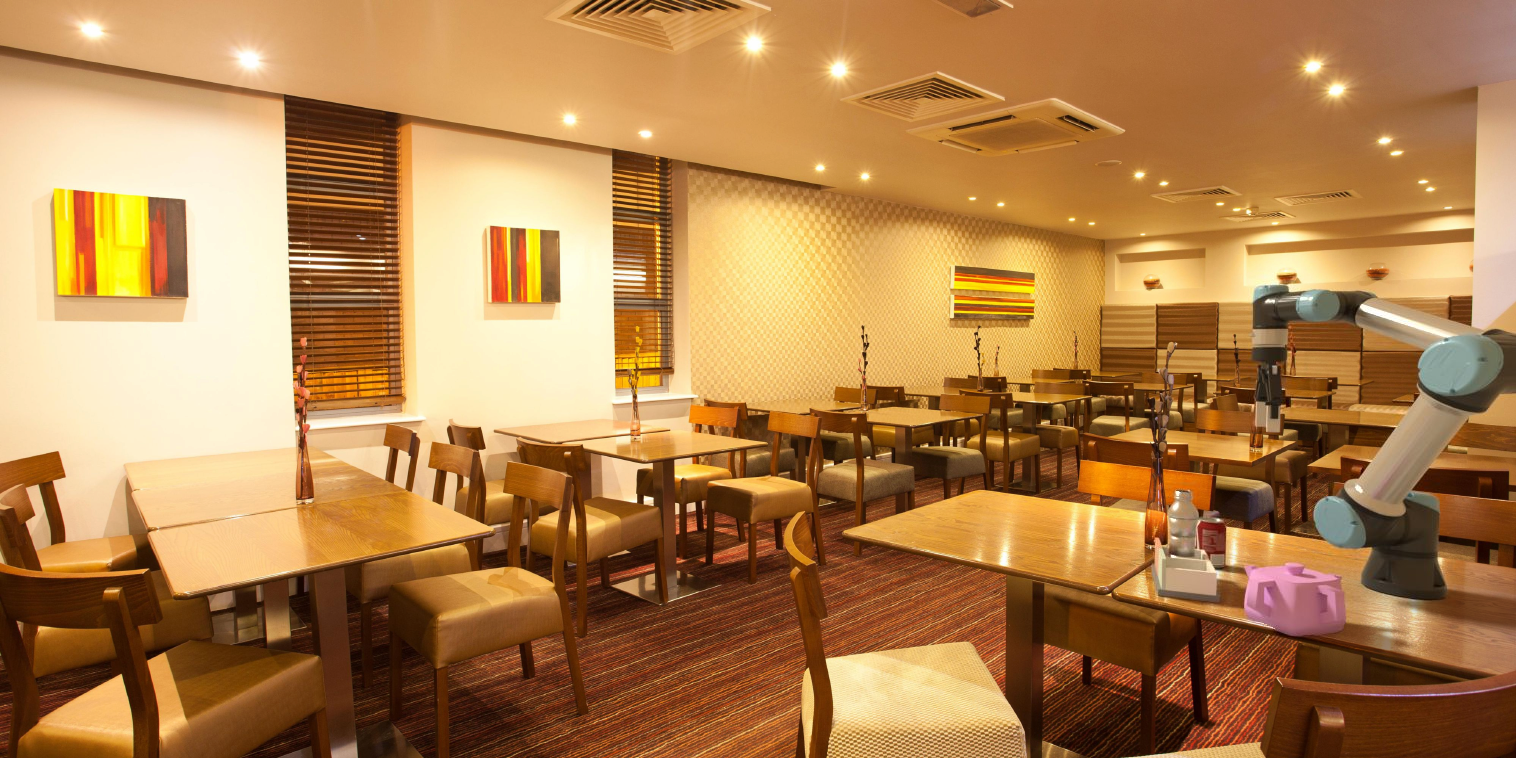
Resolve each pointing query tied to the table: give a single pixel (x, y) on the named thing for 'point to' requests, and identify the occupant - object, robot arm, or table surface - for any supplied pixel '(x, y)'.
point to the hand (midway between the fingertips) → (1267, 429)
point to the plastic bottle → (1182, 526)
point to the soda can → (1212, 540)
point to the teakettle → (1295, 599)
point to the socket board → (1184, 576)
